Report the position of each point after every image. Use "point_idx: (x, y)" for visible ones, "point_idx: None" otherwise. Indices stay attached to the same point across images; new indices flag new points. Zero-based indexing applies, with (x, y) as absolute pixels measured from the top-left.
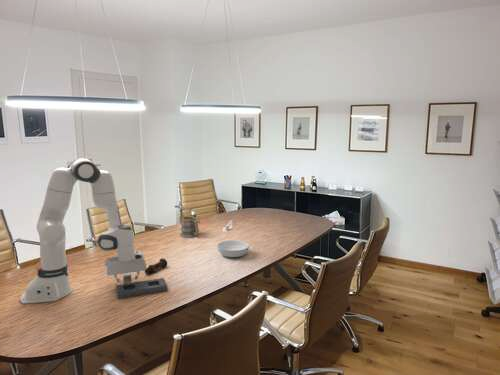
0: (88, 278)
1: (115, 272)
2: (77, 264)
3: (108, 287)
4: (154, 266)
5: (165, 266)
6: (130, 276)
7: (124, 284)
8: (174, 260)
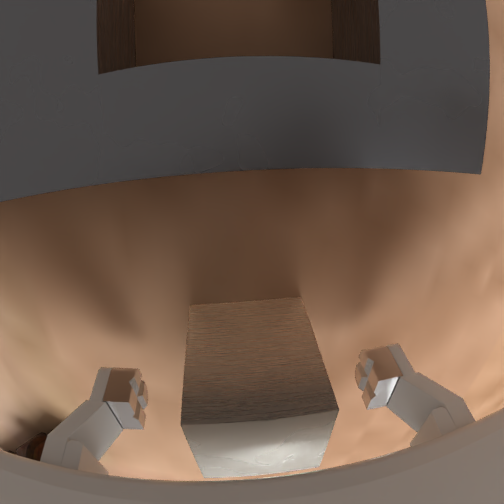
0: None
1: (488, 454)
2: None
3: (460, 282)
4: None
5: None
6: (196, 405)
7: (344, 133)
8: None
